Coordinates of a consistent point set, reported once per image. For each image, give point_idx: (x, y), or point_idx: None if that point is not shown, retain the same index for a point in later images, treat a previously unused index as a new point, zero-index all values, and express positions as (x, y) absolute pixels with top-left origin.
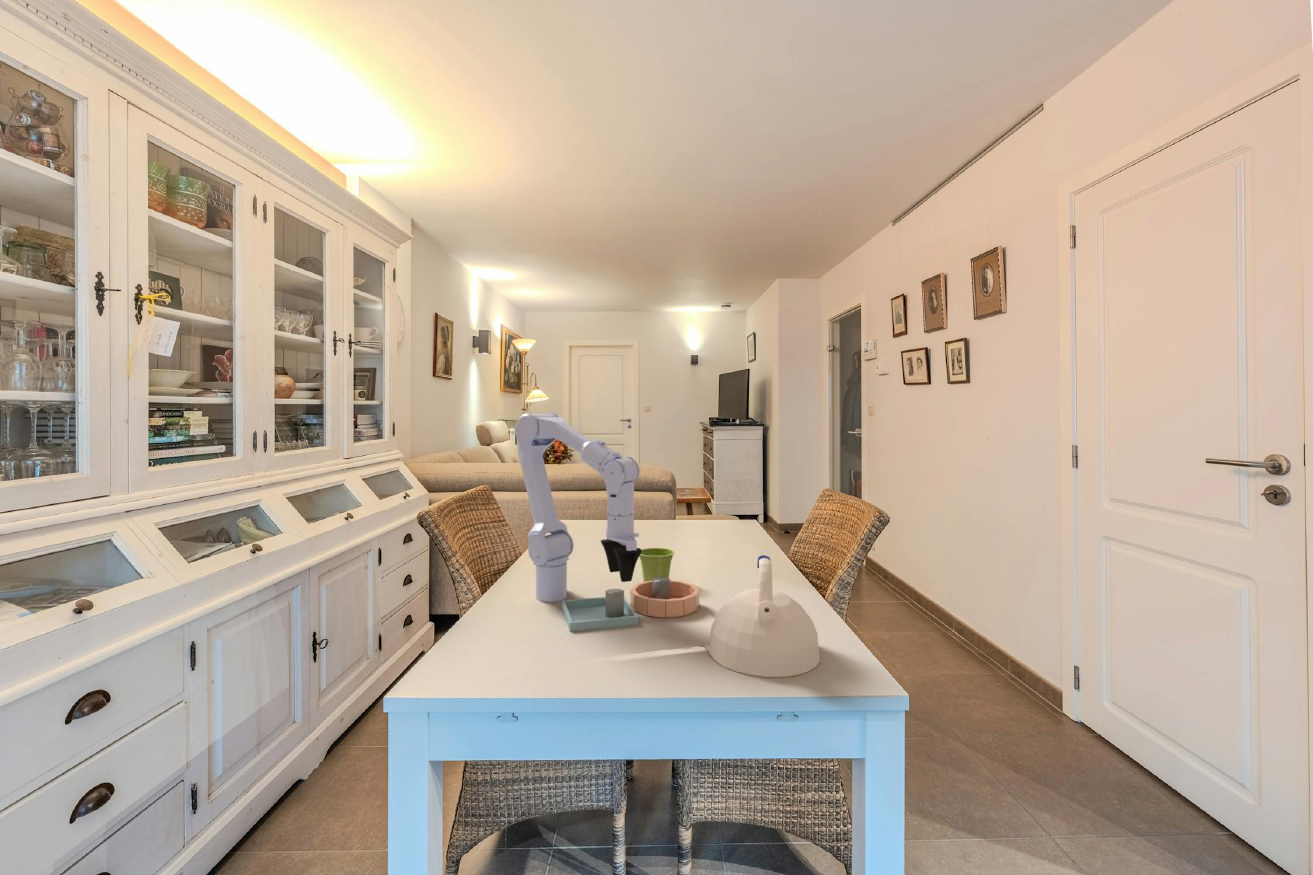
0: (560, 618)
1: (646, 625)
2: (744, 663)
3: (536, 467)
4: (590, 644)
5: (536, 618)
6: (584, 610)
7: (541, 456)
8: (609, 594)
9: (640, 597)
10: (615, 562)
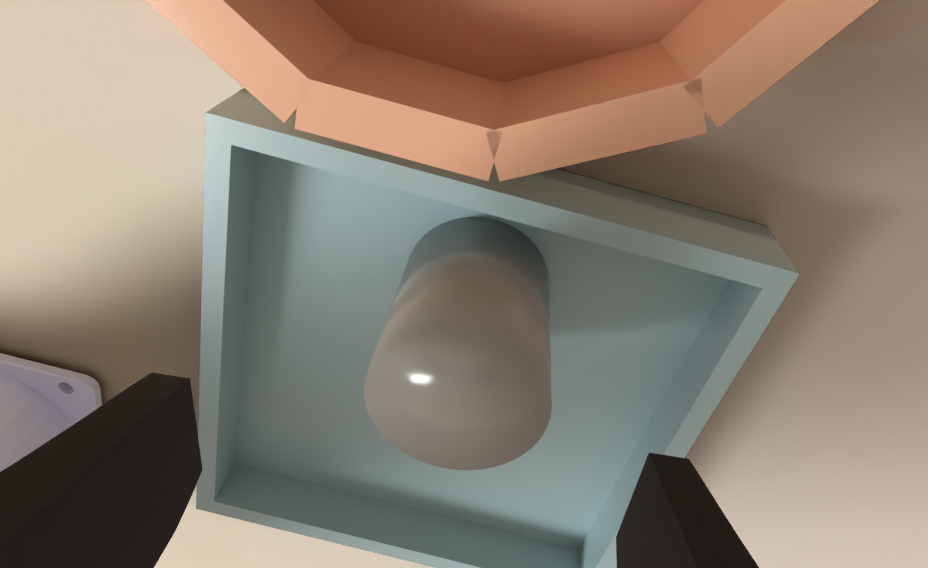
0: None
1: (759, 140)
2: None
3: None
4: (762, 524)
5: (286, 560)
6: (309, 397)
7: None
8: (501, 461)
9: (589, 158)
10: (114, 530)
